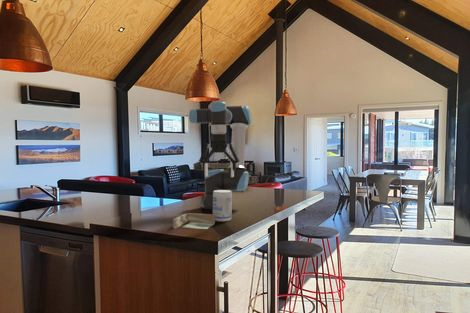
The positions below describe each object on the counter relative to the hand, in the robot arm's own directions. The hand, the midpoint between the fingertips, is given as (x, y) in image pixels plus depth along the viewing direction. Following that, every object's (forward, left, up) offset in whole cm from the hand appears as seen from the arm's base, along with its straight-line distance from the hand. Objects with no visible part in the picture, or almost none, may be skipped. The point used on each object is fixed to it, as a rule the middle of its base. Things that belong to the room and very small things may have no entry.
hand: (219, 176), depth 165 cm
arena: (+11, -8, -22) cm, 26 cm away
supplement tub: (-3, 0, -22) cm, 23 cm away
